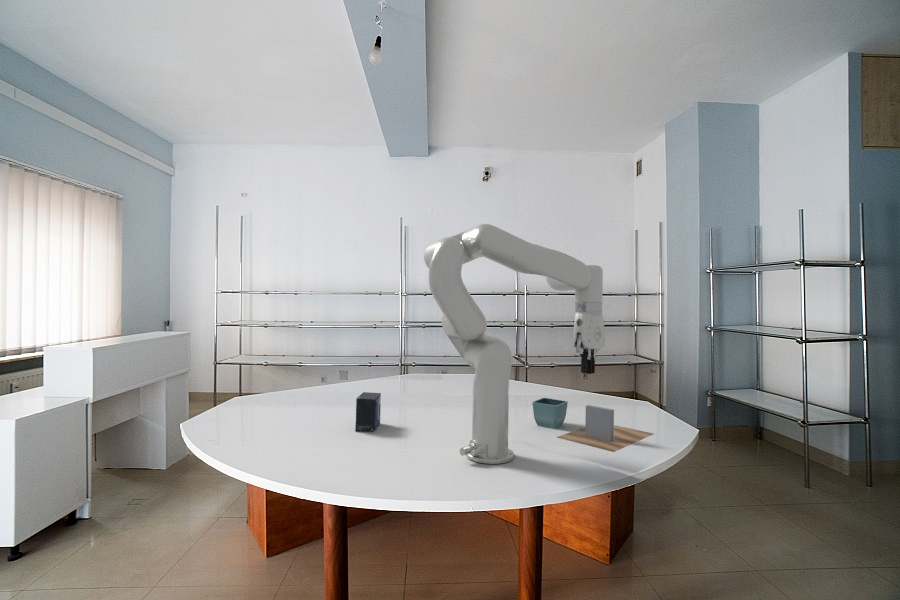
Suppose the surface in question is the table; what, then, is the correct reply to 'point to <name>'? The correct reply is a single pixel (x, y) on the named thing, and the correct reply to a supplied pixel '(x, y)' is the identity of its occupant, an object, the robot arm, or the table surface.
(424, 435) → the table surface
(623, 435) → the board
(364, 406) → the small box
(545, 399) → the flower pot
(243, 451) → the table surface
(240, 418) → the table surface
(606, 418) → the tile
